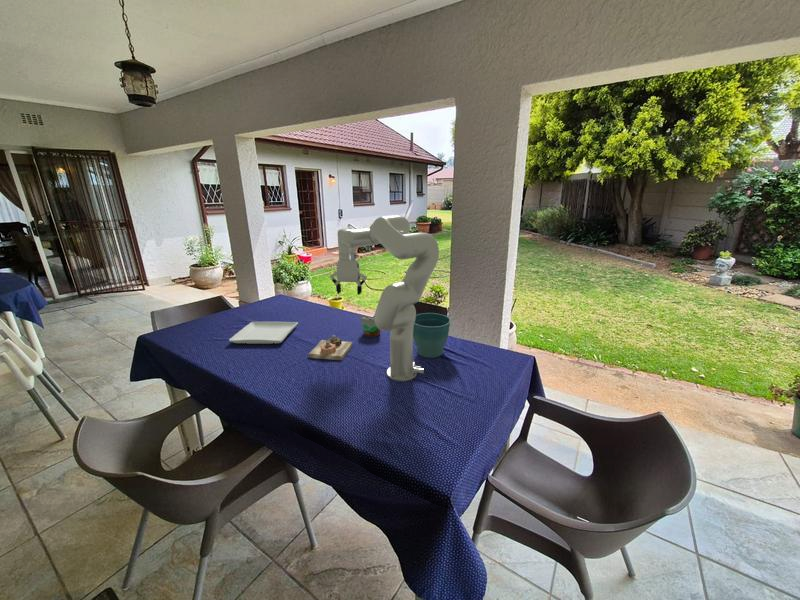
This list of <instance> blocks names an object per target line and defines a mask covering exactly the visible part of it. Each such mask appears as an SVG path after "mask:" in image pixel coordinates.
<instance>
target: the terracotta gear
mask: <svg viewBox="0 0 800 600" xmlns="http://www.w3.org/2000/svg"><path fill="white" fill-rule="evenodd" d="M333 352H336V345H335V344H332V343H330V348H326V344H324V345H321V353H324V354H333Z"/></svg>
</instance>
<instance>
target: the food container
mask: <svg viewBox="0 0 800 600" xmlns="http://www.w3.org/2000/svg"><path fill="white" fill-rule="evenodd" d="M360 322H361V323H362V324H361V325H362V331H363V335H364V336H365V337H367V338H376V337H379V336H381V330H380V329H378V328H377V326H376V324H375V320H374V316H373V317H371V316H364V314H362V315H361V317H360Z"/></svg>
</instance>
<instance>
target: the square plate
mask: <svg viewBox="0 0 800 600" xmlns="http://www.w3.org/2000/svg"><path fill="white" fill-rule="evenodd" d="M298 324H299V322H298V321H250V323H248V324H247V325H245V326H244V327H243V328H241V329H240V330H239V331H238V332H236V333H235V334H234V335H233V336H231V337H230V338H229V339H228V341H229V342H231V343H234V344H245V343H246V345H248V344H249V345H250V344H255V345H256V344H259V345H260V344H261V345H264V344H265V345H266V344H267V345H268V344H269V345H273V343H274V344H281V343H282V342H283V341H284V340H285V339H286V338H287V336H289V335H290V334H291V332H292V331H293V330H294V329H295V328H296V327H297V326H298Z"/></svg>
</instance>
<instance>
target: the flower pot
mask: <svg viewBox="0 0 800 600" xmlns="http://www.w3.org/2000/svg"><path fill="white" fill-rule="evenodd" d="M450 324H451V318H450V317H449V316H447V315H445V314H443V313H442V314H440V313H435V312H425V313H418V314H416V319H415V324H414V332H413V342H414V343H415V346H416V348H417V350H416V351H417V353H418V355H419V356H421V357H423V358H429V359H430V358H431V359H433V358H438V357H440V356H442V355H443V353H444V348H445V345H446V344H447V340H448V338H449V331H450Z"/></svg>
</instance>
